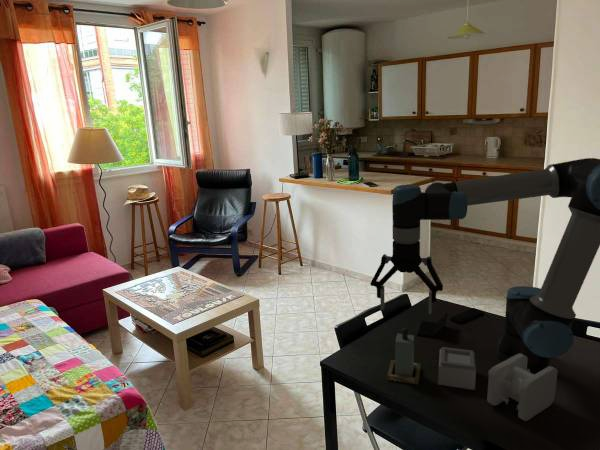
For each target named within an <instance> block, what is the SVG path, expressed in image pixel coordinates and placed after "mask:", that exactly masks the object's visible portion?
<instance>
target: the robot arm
mask: <svg viewBox="0 0 600 450" xmlns="http://www.w3.org/2000/svg"><path fill="white" fill-rule="evenodd" d="M546 196H549V197H550V198H552V199H556V198H570V200H569V203H568V205H567V208H568V209H569V211H570V213H571V216H570V218H569V221H568V222H567V225H566V227H565V230H564V232H563V235H562V237H561V240H560V242H559V245H558V247H557V249H556V251H555V254H554V256H553V259H552V261H551V264H550V266H549V268H548V270H547V273H546V276H545V278H544V280H543V283H542V285H541V288H540V287H536V286H527V285H524V286H523V285H519V286H513V287H510V288H508V290H507V293H506V297H505V298H506V303H505V316H504V317H505V319H504V329H503V330H504V331H503V333H502V335H501V337H500V339H499V341H498V342H497V345H496V355H497V357H498V358H499V359H500V360H501V361H502V362H503V361H505V360H507V359H509V358H511V357H513V356H515V355H517V354H523V355H525V356H527V358H528V361H527V370H529V371H531V370H543V369H545V368H547V367H549V366H550V361H551V358H556V357H558V356H559V357H560V356H563V355H565V354H566V353H567V352H568V351H570V350H571V348H572V346H573V344H574V332H573V331H572V326H573V324H574V321H575V319H576V316H577V314H576V312H575V310H574V309H573V307H574V305H575V302H576V300H577V299H578V295H579V294H580V291H581V289H582V287H583V284H584V282H585V279H586V277H587V275H588V273H589V272H590V268H591V267H592V265H593V262H594V259H595V258H596V255H597V253H598V250H599V248H600V158H595V157H591V158H590V157H587V158H579V159H575V160H569V161H565V162H559V163H553V164H548V165H547V166H546V167H545V168H542V169H535V170H530V171H529V170H528V171H522V172H516V173H515V172H514V173H508V174H507V173H506V174H501V175H495V176H486V177H480V178H473V179H467V180H460V181H454V182H447V183H443V182H431V184H429V185H427V186H426V188H425V190H424V191H423V192H422V188H421V186H420V185H417V184H400V185H397V186H395V187H394V188H393V189H392V200H391V201H392V205H391V206H392V208H391V209H392V240H393V241H392V255H391V256H389V255H387V254H385V253H384V254H383V255H382V256H381V259H380V265H379V266H378V268H377V270H376V271H375V274H374V275H373V277H372V279H371V282H370V283H369V284H370V286H371V287H375V288H376V298H377V299H380V310H381V311H383V310H384V309H385V305H386V304H385V284H386V282H387V281H389V279H391V277H392V276H393V275H394V274H396V272H399V273H408V274H412V273H413V272H414V274H415V275H416V276H418V277H419V278H420V280H421V281H422V282H423V283H424V285H426V286H427V288H428V290H429V291H428V315H432V311H433V303H436V302H437V292H439V291H440V292H441V291H443V289H444V285H443V282H442V280H441V278H440V277H439V275H438V272H437V271H436V269H435V267H434V265H433V263H432V262H433V261H432V257H431V256H427V257H421V242H420V239H421V221H428V220H429V221H432V220H433V221H440V220H441V221H444V220H445V221H447V220H448V221H456V220H464V219H465V218H466V216H467V214H468V206H474V205H475V206H476V205H483V204H492V203H499V202H506V201H513V200H520V199H521V200H522V199H528V198H529V199H530V198H537V197H546ZM389 262H391V264H392V265H393V266H392V267H391V268H390V269H389V270H388V271H387V273H386V274H384V276H383V277H382V278H381V279H380V280H379V281H378V279H379V278H380V276H381V273H382V271H383V270H384V268H385V265H386V264H387V265H388V264H389ZM421 264H423V265H424V266H426V267H427V270H428V272H429V274H430V276H431V278H432V280H433V281H432V280H431V278H429V276H427V274H426V273H425V271H423V269H422V268H421V266H420V265H421ZM433 282H434V283H433ZM529 368H530V369H529Z"/></svg>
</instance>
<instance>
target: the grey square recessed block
mask: <svg viewBox="0 0 600 450" xmlns="http://www.w3.org/2000/svg"><path fill="white" fill-rule="evenodd" d="M475 356H476V355H475V352H474V350H469V349H463V348H462V349H461V348H454V347H446V346H445V347H444V346H441V348H439V356H438V357H439V359H438V373H437V374H438V376H437V377H438V378H437V379H438V380H437V384H438V385H439V386H447V387H451V388H458V389H459V388H461V389H466V390H474V391H476V378H477V377H476V375H477V368H476V357H475Z"/></svg>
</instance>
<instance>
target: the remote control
mask: <svg viewBox="0 0 600 450" xmlns="http://www.w3.org/2000/svg"><path fill="white" fill-rule="evenodd" d="M484 314H485V313H484V311H483V310H480V309H478V308H475V307H471V308H470V309H467V310H465V311H463V312H460V313H457V314H455V315H453V316H450V318H449V321H450V322H452V323H454V324H457V325H462V324H463V325H464V323H465V324H466V323H468V322H469V321H471V320H474V319H476V318H478V317H480V316H482V315H484Z"/></svg>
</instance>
